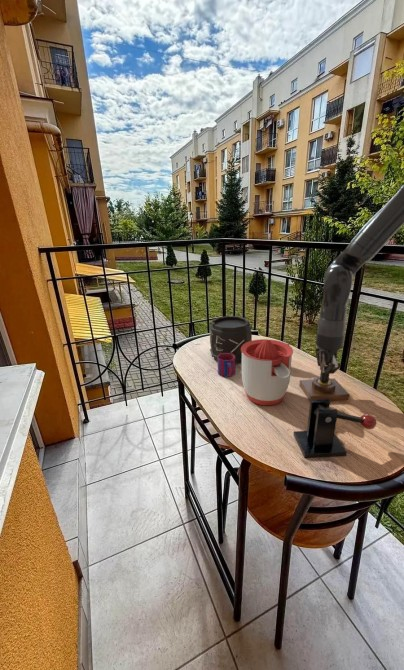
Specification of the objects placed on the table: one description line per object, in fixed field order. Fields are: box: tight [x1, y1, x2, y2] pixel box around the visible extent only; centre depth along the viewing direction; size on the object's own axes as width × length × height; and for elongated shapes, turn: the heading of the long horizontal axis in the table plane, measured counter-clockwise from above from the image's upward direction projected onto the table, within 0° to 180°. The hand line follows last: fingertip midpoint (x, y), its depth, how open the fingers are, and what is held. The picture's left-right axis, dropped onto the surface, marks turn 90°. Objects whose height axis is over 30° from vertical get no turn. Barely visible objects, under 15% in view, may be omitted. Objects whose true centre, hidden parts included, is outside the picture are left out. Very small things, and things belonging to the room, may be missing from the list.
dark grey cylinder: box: [208, 315, 253, 365], centre depth 118 cm, size 18×18×16 cm
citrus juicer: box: [241, 338, 294, 406], centre depth 87 cm, size 16×17×20 cm
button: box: [317, 379, 331, 386], centre depth 91 cm, size 4×4×2 cm
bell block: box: [299, 376, 350, 402], centre depth 91 cm, size 12×10×4 cm
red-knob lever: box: [314, 404, 377, 430], centre depth 68 cm, size 15×4×4 cm, turn 91°
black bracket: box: [293, 399, 348, 459], centre depth 68 cm, size 10×8×12 cm
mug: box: [217, 353, 236, 378], centre depth 105 cm, size 7×10×7 cm
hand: (323, 381), depth 91 cm, fingers closed
